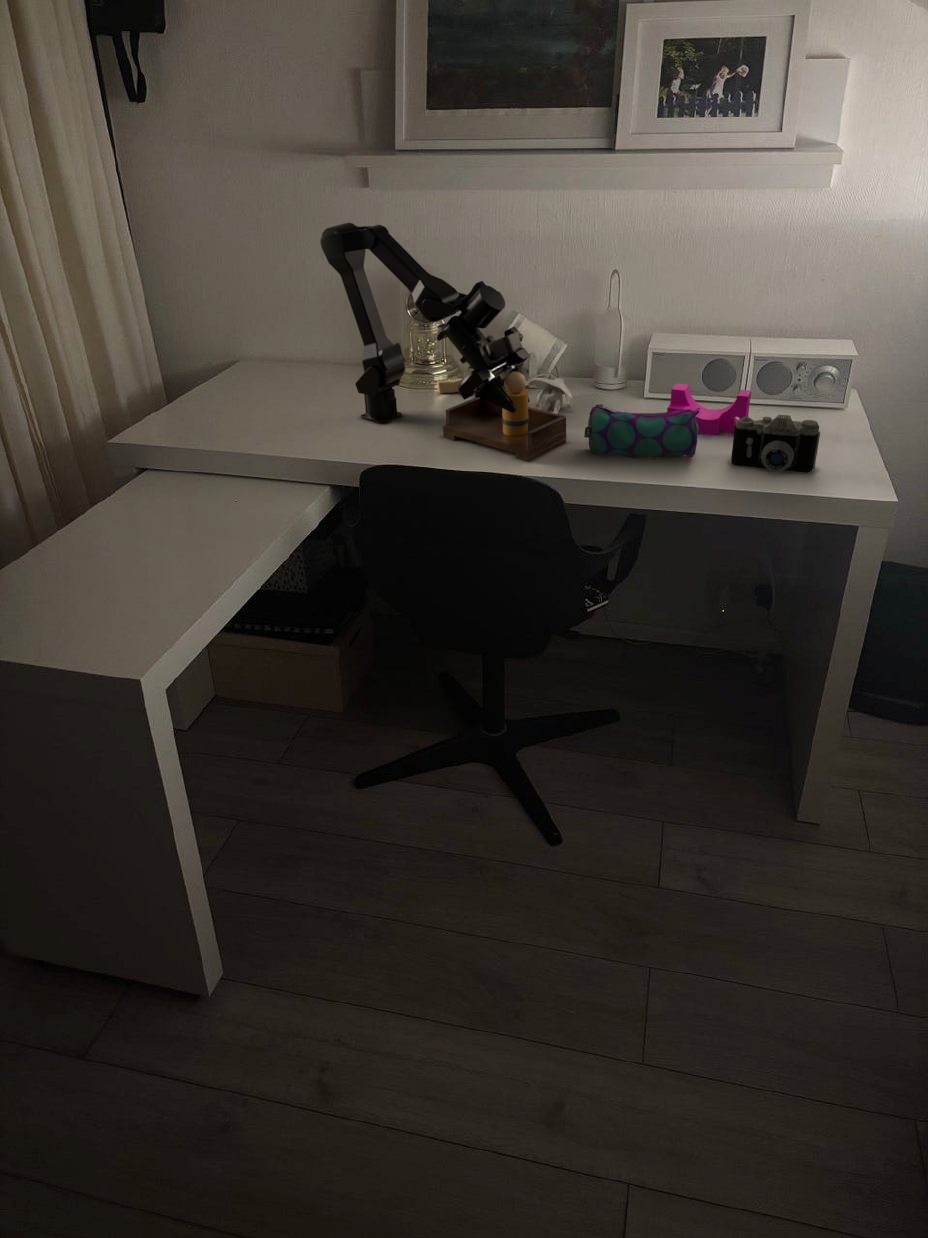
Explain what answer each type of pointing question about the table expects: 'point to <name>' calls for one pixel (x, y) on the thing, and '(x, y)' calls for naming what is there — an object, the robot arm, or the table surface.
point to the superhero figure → (551, 393)
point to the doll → (516, 405)
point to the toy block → (710, 410)
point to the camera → (776, 444)
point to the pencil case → (642, 433)
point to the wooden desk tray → (486, 427)
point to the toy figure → (450, 385)
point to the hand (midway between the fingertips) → (521, 407)
